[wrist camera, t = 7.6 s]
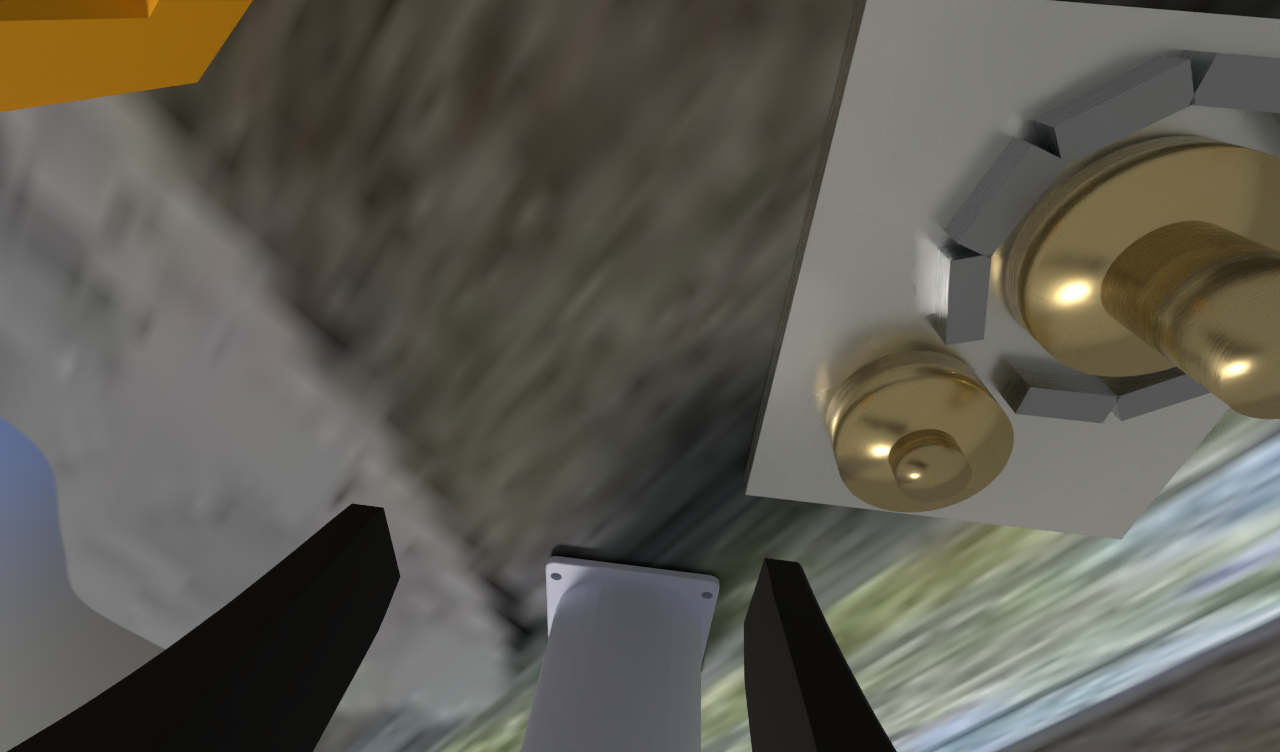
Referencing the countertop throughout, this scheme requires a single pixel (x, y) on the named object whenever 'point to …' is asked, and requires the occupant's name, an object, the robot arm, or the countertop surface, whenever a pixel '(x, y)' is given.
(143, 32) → the pipe clamp
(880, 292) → the carrier
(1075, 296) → the flanged cylinder knob
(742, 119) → the countertop surface
